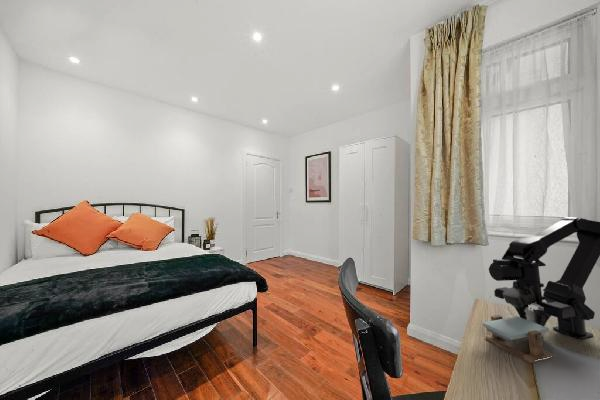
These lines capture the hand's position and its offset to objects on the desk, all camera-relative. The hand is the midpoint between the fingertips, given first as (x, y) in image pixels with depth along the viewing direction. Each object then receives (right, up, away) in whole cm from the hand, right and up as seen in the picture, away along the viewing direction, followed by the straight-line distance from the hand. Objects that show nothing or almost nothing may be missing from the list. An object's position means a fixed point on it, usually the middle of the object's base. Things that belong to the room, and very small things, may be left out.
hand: (532, 327), depth 74 cm
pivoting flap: (-12, +2, -6) cm, 14 cm away
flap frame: (-12, -2, -7) cm, 14 cm away
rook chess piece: (0, -2, 0) cm, 2 cm away
